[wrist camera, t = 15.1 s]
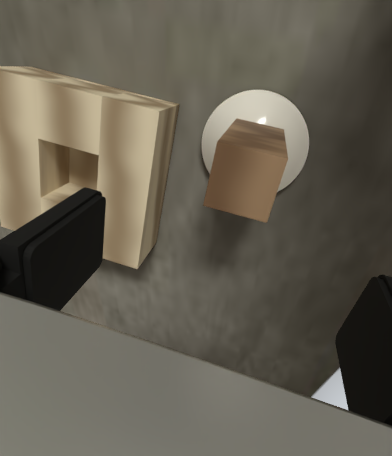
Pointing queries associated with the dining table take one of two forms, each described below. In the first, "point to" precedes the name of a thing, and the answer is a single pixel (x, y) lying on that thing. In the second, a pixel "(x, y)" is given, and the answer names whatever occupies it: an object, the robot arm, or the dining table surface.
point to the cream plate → (263, 114)
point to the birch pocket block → (84, 154)
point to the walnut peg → (247, 170)
